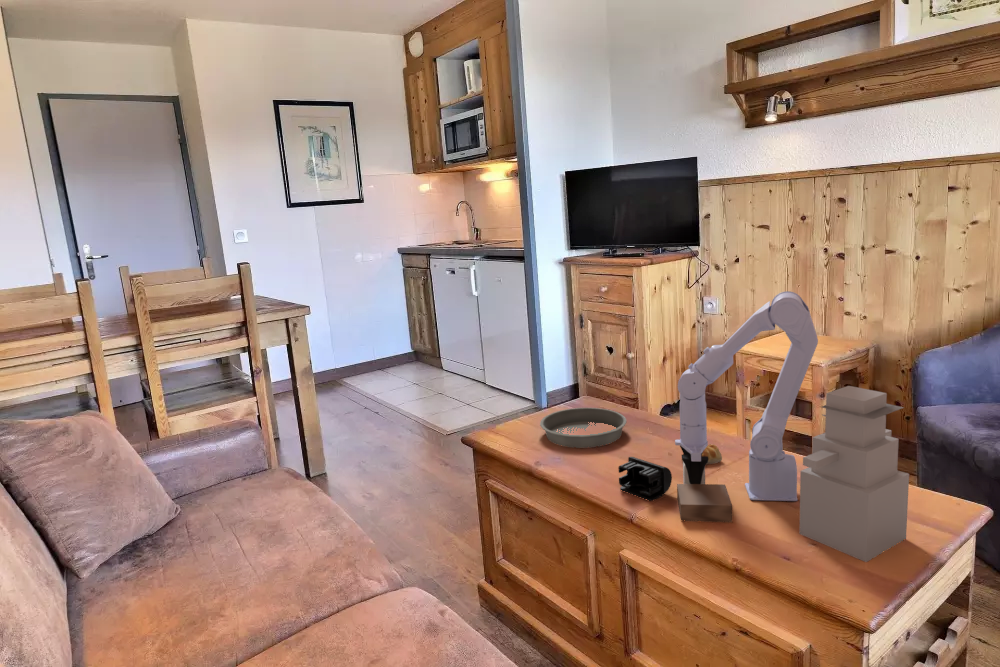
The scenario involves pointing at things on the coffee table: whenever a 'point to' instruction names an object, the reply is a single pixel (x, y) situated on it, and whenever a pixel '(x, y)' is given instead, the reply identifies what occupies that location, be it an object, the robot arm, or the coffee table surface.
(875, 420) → the three tier block tower
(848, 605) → the coffee table surface
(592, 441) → the cake pan
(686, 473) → the white block
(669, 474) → the end cap
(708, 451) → the pastry
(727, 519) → the walnut base
